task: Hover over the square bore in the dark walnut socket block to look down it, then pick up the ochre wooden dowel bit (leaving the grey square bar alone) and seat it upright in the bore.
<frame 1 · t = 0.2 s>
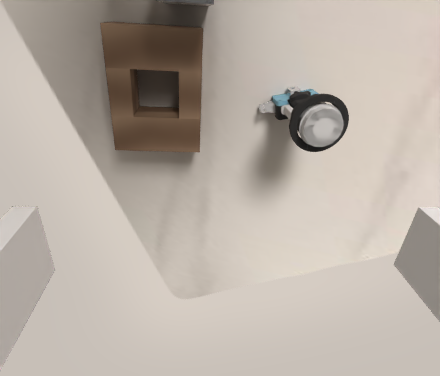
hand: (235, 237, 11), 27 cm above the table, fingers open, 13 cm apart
push button: (285, 100, 36), on the table
socket block: (159, 86, 34), on the table
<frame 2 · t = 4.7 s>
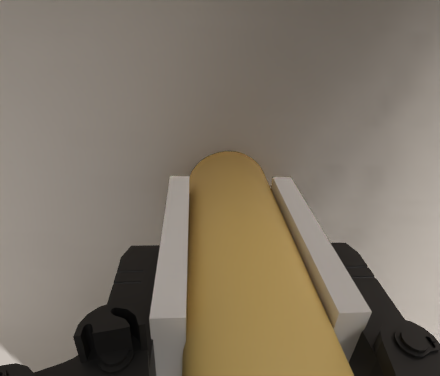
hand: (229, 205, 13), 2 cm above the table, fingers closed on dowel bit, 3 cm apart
dowel bit: (226, 187, 14), on the table, touching gripper
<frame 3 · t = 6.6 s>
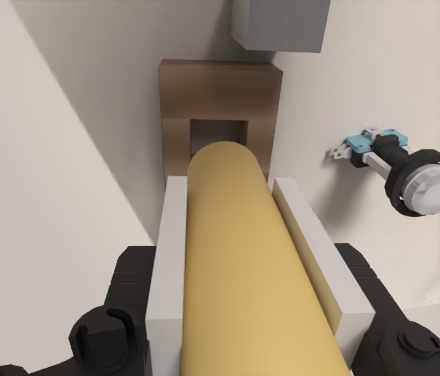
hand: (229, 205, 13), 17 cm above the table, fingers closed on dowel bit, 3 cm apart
dowel bit: (223, 175, 15), point 14 cm above the table, touching gripper
push button: (360, 141, 30), on the table
square bar bit: (258, 7, 24), on the table
socket block: (215, 130, 29), on the table
when the fingers open (5 cm above the table, at t = 8.6 s): dowel bit drops 2 cm, resting in socket block.
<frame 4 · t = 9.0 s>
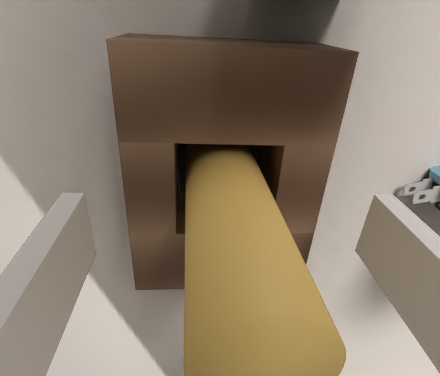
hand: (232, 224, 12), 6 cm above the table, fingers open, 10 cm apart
dowel bit: (218, 157, 17), resting in socket block
socket block: (220, 157, 17), on the table
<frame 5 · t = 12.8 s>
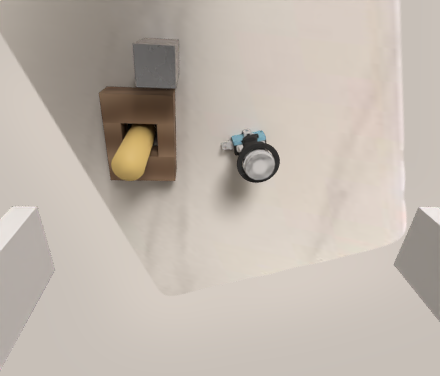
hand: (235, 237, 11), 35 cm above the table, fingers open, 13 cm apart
dowel bit: (143, 130, 44), resting in socket block
push button: (242, 138, 46), on the table
square bar bit: (162, 56, 40), on the table
socket block: (144, 130, 44), on the table
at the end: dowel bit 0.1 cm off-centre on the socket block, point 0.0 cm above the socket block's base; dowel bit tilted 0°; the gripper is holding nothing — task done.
